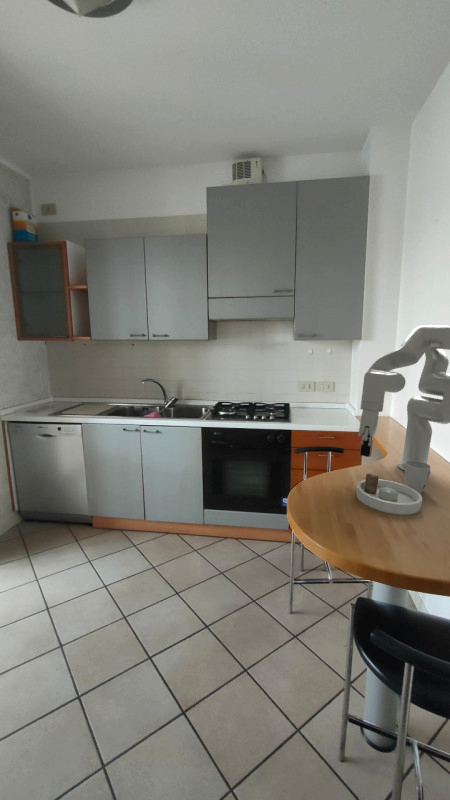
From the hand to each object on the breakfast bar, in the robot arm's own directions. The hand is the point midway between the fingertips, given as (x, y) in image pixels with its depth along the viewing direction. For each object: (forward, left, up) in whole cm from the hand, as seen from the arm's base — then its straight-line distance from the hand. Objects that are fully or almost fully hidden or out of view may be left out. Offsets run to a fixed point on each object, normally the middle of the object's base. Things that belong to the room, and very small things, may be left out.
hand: (365, 453), depth 133 cm
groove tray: (+7, +12, -12) cm, 18 cm away
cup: (-10, +15, -12) cm, 22 cm away
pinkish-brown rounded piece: (0, 0, 0) cm, 0 cm away
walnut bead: (+7, +6, -11) cm, 14 cm away
